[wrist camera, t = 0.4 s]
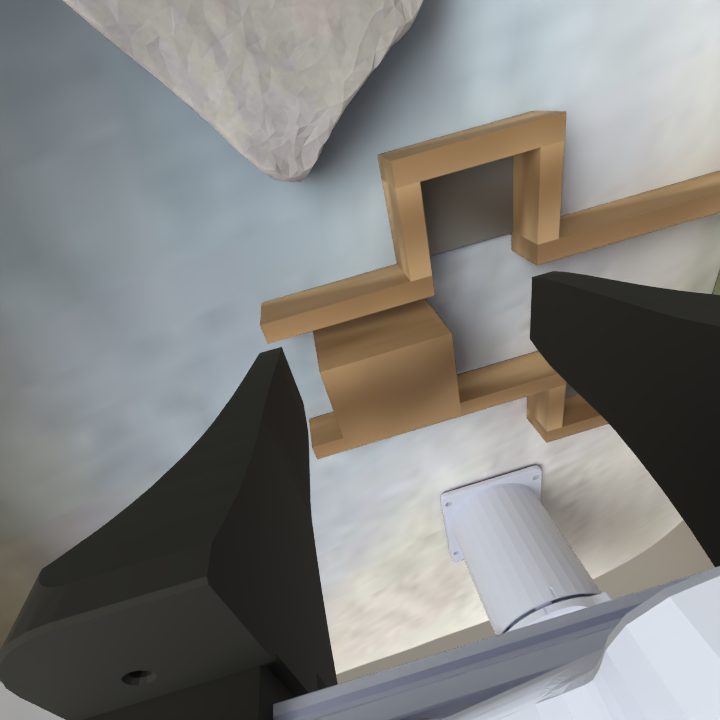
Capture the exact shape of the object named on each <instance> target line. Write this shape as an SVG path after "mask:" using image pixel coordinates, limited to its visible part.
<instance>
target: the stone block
mask: <svg viewBox="0 0 720 720" xmlns="http://www.w3.org/2000/svg"><path fill="white" fill-rule="evenodd" d="M63 1H64V2H65V3H66V4H67V5H68V6H70V7H71V8H72V9H73V10H74V11H75V12H77V13H78V14H79V15H80V16H81V17H82V18H84V19H85V20H86V21H87V22H88V23H90V24H91V25H92V26H93V27H94V28H96V29H97V30H98V31H99V32H100V33H102V34H103V35H104V36H105V37H107V38H108V39H109V40H110V41H111V42H113V43H114V44H115V45H116V46H117V47H119V48H120V49H121V50H122V51H124V52H125V53H126V54H127V55H129V56H130V57H131V58H132V59H134V60H135V61H136V62H137V63H138V64H140V65H141V66H142V67H143V68H145V69H146V70H147V71H148V72H150V73H151V74H152V75H154V76H155V77H156V78H157V79H159V80H160V81H161V82H162V83H163V84H164V85H166V86H167V87H168V88H169V89H170V90H171V91H172V92H174V93H175V94H176V95H177V96H178V97H179V98H181V99H182V100H183V101H184V102H185V103H186V104H187V105H189V106H190V107H191V108H192V109H193V110H194V111H195V112H196V113H198V114H199V115H200V116H201V117H202V118H203V119H204V120H205V121H207V122H208V123H209V124H210V125H211V126H213V127H214V128H215V129H216V130H217V131H218V132H219V133H220V134H221V135H222V136H223V137H224V138H225V139H226V140H227V141H228V142H229V143H230V144H231V145H232V146H233V147H234V148H235V149H236V150H237V151H238V152H239V153H240V154H241V155H243V156H244V157H246V158H247V159H248V160H249V161H250V162H252V163H253V164H254V165H255V166H256V167H257V168H259V169H260V170H261V171H262V172H264V173H265V174H267V175H268V176H270V177H272V178H273V179H275V180H280V181H291V182H301V181H302V180H303V179H305V178H306V177H307V175H308V174H309V172H310V171H311V169H312V167H313V166H314V164H315V162H316V161H317V159H318V157H319V155H320V153H321V152H322V149H323V145H324V143H325V142H326V141H327V140H328V138H329V136H330V133H331V131H332V129H333V128H334V127H335V125H336V124H337V122H338V121H339V119H340V117H341V115H342V113H343V112H344V110H345V108H346V107H347V105H348V104H349V103H350V101H351V100H352V99H353V97H354V96H355V94H356V93H357V92H358V90H359V89H360V88H361V86H362V85H363V84H364V82H365V81H366V80H367V78H368V77H369V76H370V74H371V73H372V71H373V70H374V69H375V68H376V67H377V66H378V65H379V64H380V63H381V61H382V60H383V58H384V57H385V55H386V54H387V52H388V51H389V49H390V48H391V46H392V45H393V44H395V43H396V42H398V41H399V40H400V39H401V37H402V36H403V35H404V34H405V33H406V32H407V31H408V30H409V29H410V28H411V26H412V24H413V22H414V20H415V18H416V16H417V14H418V12H419V10H420V8H421V5H422V3H423V1H424V0H63Z"/></svg>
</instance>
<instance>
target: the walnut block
mask: <svg viewBox="0 0 720 720" xmlns="http://www.w3.org/2000/svg"><path fill="white" fill-rule="evenodd" d="M313 334H314V340H315V346H316V352H317V358H318V364H319V370H320V374H321V377H322V380H323V383H324V385H325V388H326V391H327V394H328V396H329V399H330V402H331V405H332V407H333V410H334V413H335V416H336V418H337V421H338V424H339V427H340V429H341V432H342V435H343V438H344V440H345V443H346V446H347V449H348V450H349V449H352V448H356V447H359V446H362V445H366V444H369V443H372V442H376V441H379V440H382V439H385V438H389V437H392V436H395V435H399V434H402V433H405V432H408V431H412V430H415V429H418V428H422V427H425V426H428V425H432V424H435V423H438V422H441V421H445V420H448V419H451V418H455V417H458V416H461V408H460V399H459V391H458V382H457V373H456V365H455V356H454V347H453V339H452V333H451V331H450V330H449V329H448V327H447V326H446V325H445V324H444V322H443V321H442V320H441V318H440V317H439V316H438V315H437V313H436V312H435V311H434V309H433V308H432V307H431V306H430V304H429V303H428V302H427V300H426V299H425V298H424V299H420V300H417V301H413V302H410V303H407V304H403V305H400V306H396V307H393V308H389V309H386V310H383V311H379V312H376V313H372V314H369V315H365V316H362V317H359V318H355V319H352V320H348V321H345V322H341V323H338V324H335V325H331V326H328V327H324V328H321V329H317V330H314V331H313Z"/></svg>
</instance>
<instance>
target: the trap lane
mask: <svg viewBox="0 0 720 720" xmlns="http://www.w3.org/2000/svg"><path fill="white" fill-rule="evenodd" d="M565 126H566V112H559V111H531V112H528V113H524V114H520V115H517V116H513V117H510V118H506V119H503V120H499V121H496V122H492V123H488V124H485V125H481V126H478V127H474V128H471V129H467V130H464V131H460V132H457V133H453V134H449V135H446V136H442V137H439V138H435V139H432V140H428V141H425V142H421V143H417V144H414V145H410V146H407V147H403V148H400V149H396V150H393V151H389V152H386V153H382V154H378V160H379V166H380V172H381V177H382V183H383V188H384V194H385V199H386V205H387V210H388V216H389V221H390V227H391V232H392V238H393V243H394V249H395V255H396V260H397V264H395V265H392V266H389V267H385V268H382V269H378V270H375V271H371V272H368V273H364V274H361V275H357V276H354V277H351V278H347V279H344V280H340V281H337V282H333V283H330V284H326V285H323V286H319V287H316V288H312V289H309V290H306V291H302V292H299V293H295V294H292V295H288V296H285V297H281V298H278V299H274V300H271V301H267V302H264V303H262V306H261V320H260V326H261V329H262V331H263V333H264V336H265V338H266V340H267V343H268V344H269V343H273V342H276V341H280V340H283V339H287V338H290V337H293V336H297V335H300V334H304V333H307V332H311V331H314V330H317V329H321V328H324V327H328V326H331V325H335V324H338V323H341V322H345V321H348V320H352V319H355V318H359V317H362V316H365V315H369V314H372V313H376V312H379V311H383V310H386V309H389V308H393V307H396V306H400V305H403V304H407V303H410V302H413V301H417V300H420V299H424V298H427V297H431V296H434V295H435V293H434V286H433V278H432V270H431V263H430V256H432V255H436V254H439V253H443V252H446V251H450V250H453V249H456V248H460V247H463V246H467V245H470V244H474V243H477V242H481V241H484V240H488V239H491V238H494V237H498V236H501V235H505V234H508V233H512V250H513V251H514V252H516V253H518V254H519V255H521V256H522V257H524V258H526V259H527V260H529V261H531V262H532V263H534V264H536V265H540V264H544V263H547V262H550V261H554V260H557V259H561V258H564V257H568V256H571V255H574V254H578V253H581V252H585V251H588V250H592V249H595V248H598V247H602V246H605V245H609V244H612V243H616V242H619V241H622V240H626V239H629V238H633V237H636V236H640V235H643V234H646V233H650V232H653V231H657V230H660V229H664V228H667V227H670V226H674V225H677V224H681V223H684V222H688V221H691V220H694V219H698V218H701V217H705V216H708V215H712V214H715V213H718V212H720V171H717V172H714V173H710V174H707V175H703V176H700V177H696V178H693V179H689V180H686V181H683V182H679V183H676V184H672V185H669V186H665V187H662V188H658V189H655V190H651V191H648V192H645V193H641V194H638V195H634V196H631V197H627V198H624V199H620V200H617V201H613V202H610V203H606V204H603V205H600V206H596V207H593V208H589V209H586V210H582V211H579V212H575V213H572V214H568V215H565V216H562V217H560V209H561V193H562V176H563V160H564V143H565ZM713 294H714V295H720V271H719V275H718V278H717V281H716V284H715V288H714V291H713ZM457 382H458V391H459V399H460V408H461V416H463V415H466V414H470V413H473V412H476V411H480V410H483V409H486V408H490V407H493V406H496V405H500V404H503V403H506V402H510V401H513V400H516V399H520V398H523V397H526V396H527V419H528V420H529V422H530V423H531V424H532V425H533V427H534V428H535V429H536V430H537V431H538V433H539V434H540V435H541V436H542V438H543V439H544V440H545V441H546V443H547V442H550V441H553V440H557V439H560V438H563V437H566V436H570V435H573V434H576V433H580V432H583V431H586V430H590V429H593V428H596V427H599V426H603V425H606V424H609V423H608V422H607V421H606V420H605V419H604V418H603V417H602V416H601V415H600V414H599V413H598V412H597V411H596V410H595V409H594V408H593V407H592V406H591V405H590V404H589V403H588V402H587V401H586V400H585V399H584V398H582V397H581V396H580V395H579V394H578V393H577V392H576V391H575V390H574V389H573V388H572V387H571V386H570V385H569V384H568V383H567V382H566V381H565V380H564V379H563V378H562V377H561V376H560V375H559V374H558V373H557V372H556V371H555V370H554V369H553V368H552V367H551V366H550V365H549V364H548V363H547V361H546V360H545V359H544V357H543V356H542V355H541V354H540V352H539V351H537V352H533V353H530V354H527V355H523V356H520V357H517V358H513V359H510V360H506V361H503V362H500V363H496V364H493V365H490V366H486V367H483V368H480V369H476V370H473V371H469V372H466V373H463V374H459V375H457ZM458 417H460V416H458ZM455 418H456V417H455ZM451 419H453V418H451ZM448 420H450V419H448ZM445 421H446V420H445ZM441 422H443V421H441ZM309 423H310V432H311V441H312V448H313V451H314V453H315V455H316V458H317V459H320V458H323V457H326V456H330V455H333V454H336V453H340V452H343V451H346V450H348V449H347V446H346V443H345V440H344V438H343V435H342V432H341V429H340V427H339V424H338V421H337V418H336V416H335V413H334V412H332V413H328V414H325V415H322V416H318V417H315V418H311V419H309ZM438 423H440V422H438ZM435 424H436V423H435ZM432 425H433V424H432ZM428 426H430V425H428ZM425 427H426V426H425ZM422 428H423V427H422ZM418 429H420V428H418ZM415 430H416V429H415ZM412 431H413V430H412ZM408 432H410V431H408ZM405 433H406V432H405ZM402 434H403V433H402ZM399 435H400V434H399ZM395 436H396V435H395ZM392 437H393V436H392ZM389 438H390V437H389ZM385 439H386V438H385ZM382 440H383V439H382ZM379 441H380V440H379ZM372 443H373V442H372ZM369 444H370V443H369ZM362 446H363V445H362ZM359 447H360V446H359ZM352 449H353V448H352ZM349 450H350V449H349Z"/></svg>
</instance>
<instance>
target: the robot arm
mask: <svg viewBox="0 0 720 720" xmlns="http://www.w3.org/2000/svg"><path fill="white" fill-rule="evenodd" d="M530 340H531V341H532V342H533V344H534V345H535V347H536V348H537V349H538V351H539V352H540V354H541V355H542V356H543V357H544V359H545V360H546V361H547V363H548V364H549V365H550V366H551V367H552V368H553V369H554V370H555V371H556V372H557V373H558V374H559V375H560V376H561V377H562V378H563V379H564V380H565V381H566V382H567V383H568V384H569V385H570V386H571V387H572V388H573V389H574V390H575V391H576V392H577V393H578V394H579V395H580V396H581V397H582V398H584V399H585V400H586V401H587V402H588V403H589V404H590V405H591V406H592V407H593V408H594V409H595V410H596V411H597V412H598V413H599V414H600V415H601V416H602V417H603V418H604V419H605V420H606V421H607V422H608V423H609V424H610V425H611V426H612V427H613V429H614V430H615V431H616V432H617V433H618V434H619V436H620V437H621V438H622V439H623V440H624V442H625V443H626V444H627V445H628V447H629V448H630V449H631V450H632V451H633V453H634V454H635V455H636V456H637V457H638V459H639V460H640V461H641V463H642V464H643V465H644V467H645V468H646V469H647V470H648V472H649V473H650V474H651V476H652V477H653V478H654V480H655V481H656V482H657V483H658V485H659V486H660V487H661V489H662V490H663V491H664V493H665V494H666V496H667V497H668V498H669V500H670V501H671V503H672V504H673V505H674V507H675V508H676V510H677V511H678V512H679V514H680V515H681V517H682V518H683V519H684V521H685V522H686V524H687V525H688V526H689V528H690V529H691V531H692V532H693V534H694V535H695V537H696V539H697V540H698V541H699V543H700V545H701V546H702V548H703V549H704V550H705V552H706V554H707V555H708V557H709V558H710V560H711V562H712V563H713V565H714V566H715V568H712V569H710V570H707V571H704V572H701V573H698V574H694V575H691V576H688V577H684V578H681V579H678V580H675V581H671V582H668V583H665V584H662V585H658V586H655V587H652V588H649V589H645V590H642V591H639V592H636V593H632V594H629V595H626V596H623V597H620V598H617V599H613V600H612V598H611V597H610V595H609V594H608V592H603V593H601V592H600V590H599V588H598V587H597V586H596V584H595V583H594V581H593V580H592V578H591V577H590V575H589V574H588V572H587V571H586V569H585V568H584V566H583V565H582V563H581V562H580V560H579V559H578V557H577V556H576V554H575V553H574V551H573V550H572V548H571V547H570V545H569V544H568V542H567V541H566V539H565V538H564V536H563V535H562V533H561V532H560V530H559V529H558V527H557V526H556V524H555V523H554V521H553V520H552V518H551V517H550V515H549V514H548V513H547V511H546V510H545V508H544V507H543V505H542V504H541V502H540V501H541V482H542V469H541V468H540V467H539V466H537V465H535V466H531V467H528V468H525V469H521V470H518V471H515V472H511V473H508V474H505V475H502V476H498V477H495V478H492V479H488V480H485V481H482V482H479V483H475V484H472V485H469V486H465V487H462V488H459V489H456V490H452V491H449V492H446V493H444V494H442V495H441V497H440V500H441V506H442V511H443V517H444V522H445V528H446V533H447V539H448V545H449V550H450V556H451V559H452V561H453V562H459V561H462V560H464V561H465V563H466V565H467V568H468V570H469V573H470V575H471V577H472V580H473V582H474V585H475V587H476V589H477V592H478V594H479V597H480V599H481V601H482V604H483V606H484V609H485V611H486V614H487V616H488V618H489V621H490V623H491V625H492V627H493V629H494V632H495V634H496V636H493V637H490V638H487V639H483V640H480V641H477V642H474V643H470V644H467V645H464V646H461V647H457V648H454V649H451V650H448V651H444V652H442V653H438V654H435V655H432V656H428V657H425V658H422V659H419V660H415V661H412V662H409V663H405V664H402V665H399V666H396V667H392V668H389V669H386V670H383V671H380V672H376V673H373V674H370V675H367V676H363V677H360V678H357V679H354V680H350V681H347V682H344V683H341V684H337V678H336V673H335V667H334V661H333V656H332V650H331V644H330V638H329V632H328V626H327V620H326V614H325V608H324V601H323V595H322V589H321V582H320V575H319V568H318V562H317V555H316V548H315V540H314V533H313V526H312V518H311V504H310V470H309V438H308V428H307V422H306V416H305V410H304V404H303V401H302V398H301V396H300V393H299V391H298V388H297V386H296V383H295V380H294V378H293V375H292V373H291V370H290V367H289V365H288V362H287V360H286V357H285V355H284V352H283V349H282V347H280V348H277V349H273V350H269V351H266V352H262V353H260V354H259V355H258V357H257V358H256V360H255V362H254V363H253V365H252V366H251V368H250V370H249V371H248V373H247V375H246V376H245V378H244V379H243V381H242V382H241V384H240V386H239V387H238V389H237V390H236V392H235V393H234V395H233V396H232V398H231V399H230V400H229V402H228V403H227V404H226V406H225V407H224V409H223V410H222V411H221V413H220V414H219V415H218V417H217V418H216V419H215V421H214V422H213V423H212V425H211V426H210V427H209V428H208V430H207V431H206V432H205V433H204V434H203V435H202V437H201V438H200V439H199V440H198V441H197V442H196V443H195V444H194V445H193V447H192V448H191V449H190V450H189V451H188V452H187V453H186V454H185V455H184V456H183V457H182V458H181V459H180V460H179V461H178V462H177V463H176V464H175V465H174V466H173V467H172V468H171V469H170V470H169V471H168V472H167V473H165V474H164V475H163V476H162V477H161V478H160V479H159V480H158V481H157V482H156V483H155V484H154V485H153V486H152V487H151V488H149V489H148V490H147V491H146V492H145V493H144V494H142V495H141V496H140V497H139V498H138V499H136V500H135V501H134V502H133V503H132V504H130V505H129V506H128V507H127V508H125V509H124V510H123V511H122V512H120V513H119V514H118V515H117V516H115V517H114V518H113V519H112V520H110V521H109V522H108V523H106V524H105V525H104V526H102V527H101V528H100V529H99V530H97V531H96V532H94V533H93V534H92V535H90V536H89V537H87V538H86V539H85V540H83V541H82V542H80V543H79V544H77V545H76V546H75V547H73V548H72V549H70V550H69V551H68V552H66V553H65V554H63V555H62V556H61V557H59V558H58V559H56V560H55V561H53V562H52V563H50V564H49V565H48V566H46V567H45V568H43V569H42V570H41V572H40V574H39V576H38V578H37V580H36V581H35V583H34V585H33V587H32V589H31V591H30V593H29V595H28V597H27V599H26V601H25V603H24V605H23V607H22V609H21V611H20V613H19V615H18V617H17V619H16V621H15V623H14V625H13V627H12V629H11V631H10V633H9V635H8V637H7V639H6V641H5V643H4V645H3V647H2V648H1V650H0V679H1V681H2V682H3V684H4V686H5V687H6V688H7V689H8V690H10V691H11V692H13V693H14V694H16V695H17V696H19V697H20V698H22V699H24V700H27V701H29V702H31V703H33V704H35V705H37V706H39V707H41V708H43V709H45V710H47V711H49V712H51V713H53V714H55V715H57V716H59V717H61V718H64V719H66V720H720V295H714V294H703V293H693V292H685V291H678V290H671V289H663V288H656V287H650V286H644V285H638V284H632V283H627V282H621V281H615V280H610V279H604V278H599V277H593V276H588V275H582V274H575V273H568V272H556V271H553V272H549V273H545V274H542V275H538V276H535V277H532V298H531V326H530Z"/></svg>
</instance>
